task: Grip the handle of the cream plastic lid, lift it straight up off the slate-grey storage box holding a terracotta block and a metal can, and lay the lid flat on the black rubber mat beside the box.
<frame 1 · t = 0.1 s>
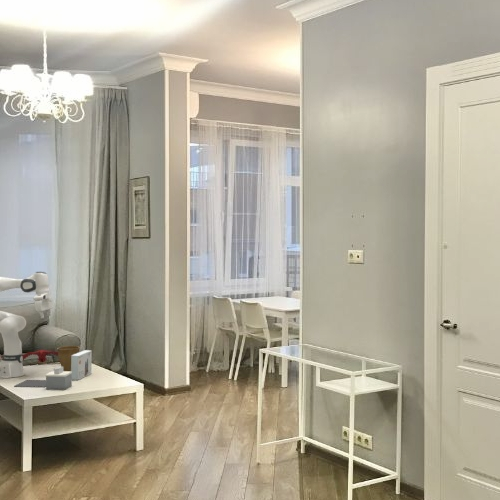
hand: (45, 317, 462), 39 cm above the table, tool pointing down, fingers open, 8 cm apart
black rubber mat: (35, 383, 440), on the table
cream lid: (58, 376, 428), point 7 cm above the table, touching grey storage box
plant pot: (68, 371, 480), on the table
skincare box: (81, 377, 460), on the table
decorative bird sculpture: (42, 364, 506), on the table
grey storage box: (59, 387, 429), on the table
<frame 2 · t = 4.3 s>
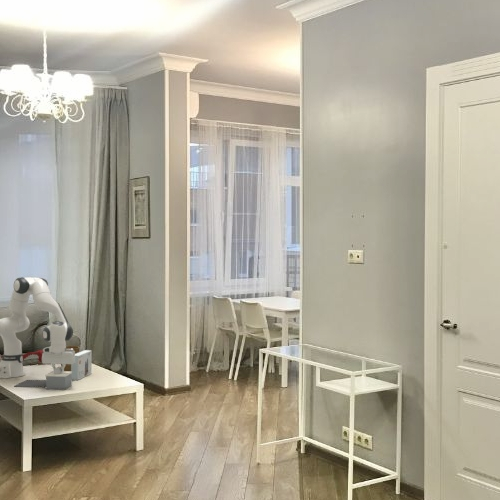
hand: (58, 371, 428), 10 cm above the table, tool pointing down, fingers closed on cream lid, 3 cm apart
cream lid: (58, 376, 428), point 7 cm above the table, touching grey storage box, gripper
everything else where it was.
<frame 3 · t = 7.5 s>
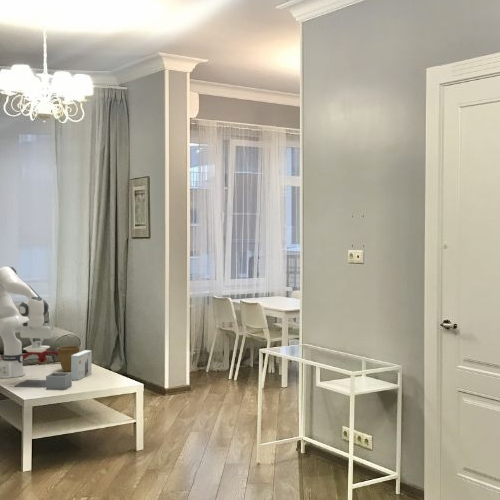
hand: (36, 345, 439), 24 cm above the table, tool pointing down, fingers closed on cream lid, 3 cm apart
cream lid: (36, 350, 439), point 21 cm above the table, touching gripper
everything else where it was.
when the fingers open (6 cm above the table, at t = 11.1 s): cream lid drops 2 cm, resting on black rubber mat.
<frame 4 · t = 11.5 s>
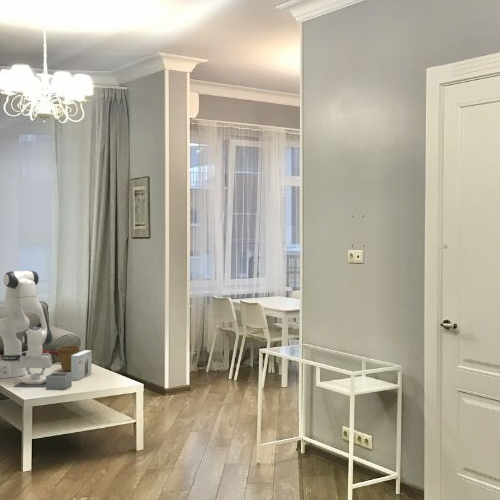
hand: (35, 374, 440), 6 cm above the table, tool pointing down, fingers open, 7 cm apart
cream lid: (35, 383, 440), resting on black rubber mat
everything else where it was.
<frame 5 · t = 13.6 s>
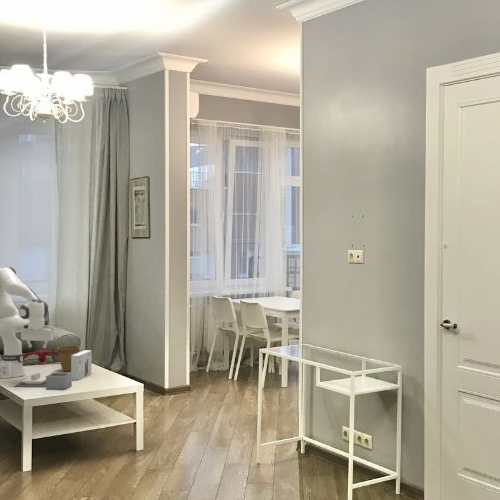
hand: (37, 347, 441), 22 cm above the table, tool pointing down, fingers open, 8 cm apart
nothing on the table moved.
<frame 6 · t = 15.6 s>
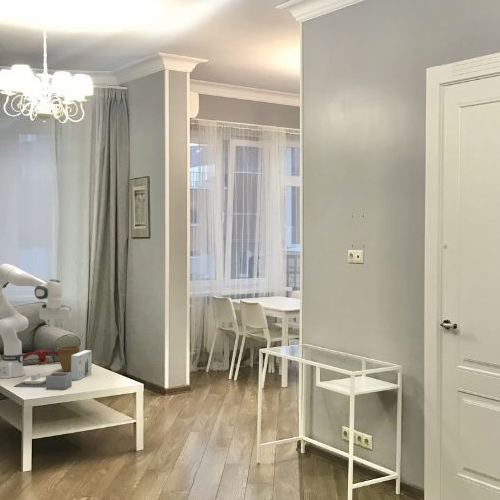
hand: (55, 326, 451), 34 cm above the table, tool pointing down, fingers open, 8 cm apart
nothing on the table moved.
at the end: cream lid inside the target area on the black rubber mat (0.0 cm from its centre), point 0.5 cm above the black rubber mat's base; cream lid tilted 0°; the gripper is holding nothing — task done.
